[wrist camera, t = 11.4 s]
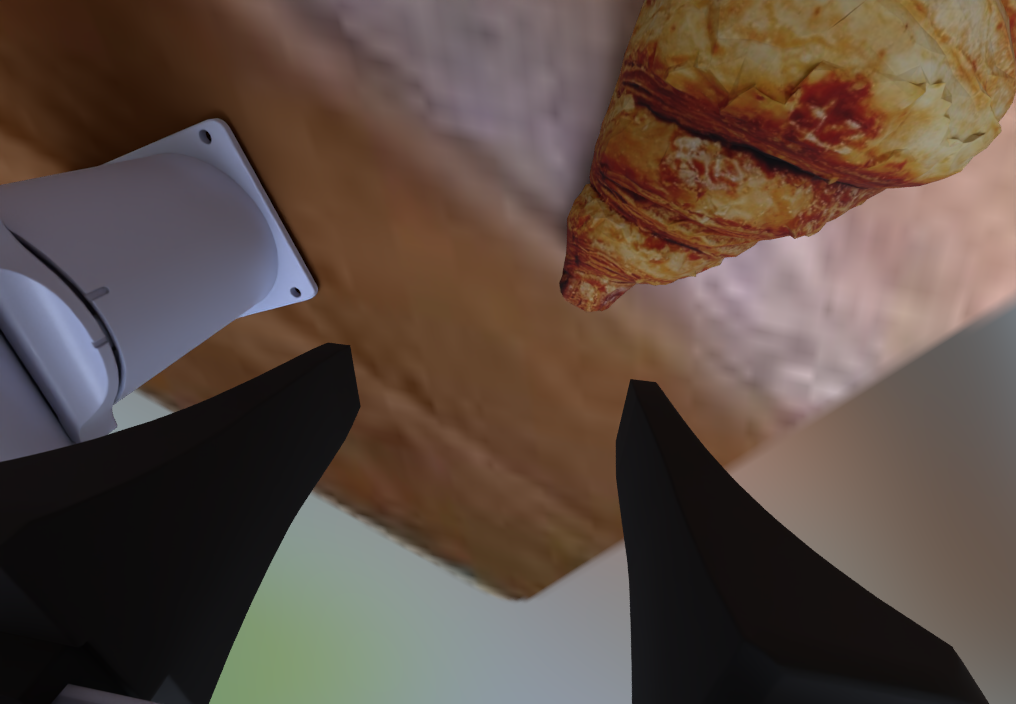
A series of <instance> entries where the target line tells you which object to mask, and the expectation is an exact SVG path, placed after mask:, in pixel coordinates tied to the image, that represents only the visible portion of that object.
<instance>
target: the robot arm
mask: <svg viewBox="0 0 1016 704" xmlns="http://www.w3.org/2000/svg"><path fill="white" fill-rule="evenodd" d="M206 131H208V133H209V134H210V135H211V138H212V139H211V141H210V140H209V139H208V138H207V136H206ZM295 287H296V288H297V289H299V290H300V292H301V294H299V293H298V292H297V291H296V290H295ZM317 293H318V287H317V285H316V283H315V281H314V279H313V277H312V276H311V274H310V272H309V270H308V268H307V267H306V265H305V263H304V261H303V259H302V257H301V256H300V254H299V252H298V250H297V248H296V247H295V245H294V243H293V241H292V239H291V238H290V236H289V234H288V232H287V230H286V228H285V227H284V225H283V223H282V221H281V219H280V218H279V216H278V214H277V212H276V210H275V208H274V207H273V205H272V203H271V201H270V199H269V198H268V196H267V194H266V192H265V190H264V189H263V187H262V185H261V183H260V181H259V179H258V178H257V176H256V174H255V172H254V170H253V169H252V167H251V165H250V163H249V161H248V160H247V158H246V156H245V154H244V152H243V150H242V149H241V147H240V145H239V143H238V141H237V140H236V138H235V136H234V134H233V132H232V130H231V129H230V127H229V126H228V124H227V123H226V122H224V121H223V120H222V119H219V118H214V119H207V120H205V121H203V122H200V123H198V124H196V125H193V126H191V127H189V128H186V129H184V130H182V131H179V132H177V133H175V134H172V135H170V136H168V137H165V138H163V139H161V140H158V141H156V142H154V143H151V144H149V145H147V146H144V147H142V148H140V149H137V150H135V151H133V152H130V153H128V154H126V155H123V156H121V157H119V158H116V159H114V160H112V161H109V162H107V163H105V164H102V165H100V166H96V167H91V168H86V169H80V170H75V171H70V172H65V173H60V174H55V175H50V176H44V177H39V178H34V179H29V180H24V181H19V182H14V183H9V184H3V185H0V704H209V702H210V699H211V697H212V694H213V692H214V689H215V687H216V685H217V682H218V680H219V677H220V674H221V672H222V670H223V667H224V665H225V662H226V660H227V657H228V655H229V652H230V650H231V648H232V645H233V643H234V641H235V639H236V636H237V634H238V632H239V630H240V627H241V625H242V623H243V621H244V619H245V616H246V614H247V612H248V610H249V607H250V605H251V603H252V601H253V598H254V596H255V594H256V592H257V590H258V588H259V586H260V584H261V582H262V580H263V578H264V576H265V573H266V571H267V569H268V567H269V565H270V563H271V561H272V559H273V557H274V555H275V553H276V551H277V550H278V548H279V546H280V544H281V542H282V540H283V538H284V536H285V534H286V532H287V530H288V528H289V526H290V525H291V523H292V521H293V519H294V518H295V516H296V515H297V513H298V511H299V510H300V508H301V506H302V505H303V503H304V502H305V500H306V499H307V497H308V496H309V494H310V493H311V491H312V490H313V488H314V487H315V485H316V484H317V482H318V481H319V479H320V478H321V476H322V475H323V473H324V472H325V470H326V469H327V467H328V466H329V464H330V463H331V461H332V459H333V458H334V456H335V455H336V453H337V452H338V450H339V449H340V447H341V445H342V444H343V442H344V441H345V439H346V437H347V435H348V433H349V431H350V429H351V427H352V425H353V422H354V420H355V418H356V416H357V413H358V411H359V409H360V401H359V395H358V389H357V383H356V377H355V372H354V366H353V360H352V354H351V348H350V345H343V344H335V343H326V344H324V345H321V346H319V347H316V348H314V349H312V350H310V351H308V352H306V353H304V354H302V355H300V356H298V357H296V358H294V359H292V360H290V361H288V362H286V363H284V364H282V365H280V366H278V367H276V368H274V369H272V370H270V371H268V372H266V373H264V374H262V375H260V376H258V377H256V378H253V379H251V380H249V381H247V382H245V383H243V384H240V385H238V386H236V387H234V388H232V389H230V390H227V391H225V392H223V393H221V394H219V395H216V396H214V397H212V398H210V399H207V400H205V401H203V402H200V403H198V404H195V405H193V406H190V407H188V408H185V409H183V410H180V411H177V412H175V413H172V414H169V415H167V416H164V417H161V418H158V419H156V420H153V421H150V422H147V423H144V424H141V425H137V426H134V427H131V428H128V429H125V430H121V431H118V432H115V433H112V434H109V433H110V432H111V431H113V430H114V429H115V428H117V423H116V421H115V419H114V417H113V412H112V406H113V405H114V404H116V403H117V402H118V401H120V400H121V399H123V398H124V397H125V396H127V395H128V394H130V393H131V392H133V391H134V390H135V389H137V388H138V387H140V386H141V385H143V384H144V383H145V382H147V381H148V380H150V379H151V378H152V377H154V376H155V375H157V374H158V373H160V372H161V371H162V370H164V369H165V368H167V367H168V366H169V365H171V364H172V363H174V362H175V361H177V360H178V359H179V358H181V357H182V356H184V355H185V354H187V353H188V352H189V351H191V350H192V349H194V348H195V347H196V346H198V345H199V344H201V343H202V342H204V341H205V340H206V339H208V338H209V337H211V336H212V335H213V334H215V333H216V332H218V331H219V330H221V329H222V328H223V327H225V326H226V325H228V324H229V323H230V322H232V321H233V320H235V319H236V318H239V317H243V316H246V315H250V314H254V313H258V312H262V311H266V310H270V309H274V308H277V307H281V306H285V305H289V304H293V303H297V302H301V301H304V300H308V299H311V298H313V297H314V296H315V295H316V294H317ZM107 434H109V435H107ZM616 480H617V488H618V496H619V504H620V511H621V519H622V526H623V533H624V541H625V548H626V555H627V562H628V574H629V588H630V589H629V590H630V617H631V659H632V704H989V703H988V701H987V700H986V698H985V696H984V695H983V693H982V692H981V690H980V688H979V687H978V685H977V684H976V682H975V681H974V679H973V678H972V676H971V675H970V673H969V671H968V670H967V668H966V666H965V665H964V663H963V662H962V660H961V659H960V657H959V656H958V655H957V653H956V652H955V650H954V649H953V647H952V646H950V645H949V644H947V643H946V642H944V641H943V640H941V639H940V638H938V637H936V636H935V635H934V634H932V633H930V632H929V631H927V630H926V629H924V628H923V627H921V626H920V625H918V624H916V623H915V622H914V621H912V620H911V619H909V618H907V617H906V616H905V615H903V614H902V613H900V612H898V611H897V610H895V609H894V608H892V607H891V606H889V605H888V604H886V603H885V602H883V601H882V600H880V599H879V598H877V597H875V596H874V595H873V594H872V593H870V592H869V591H867V590H866V589H865V588H863V587H862V586H860V585H859V584H858V583H856V582H855V581H853V580H852V579H851V578H849V577H848V576H847V575H845V574H844V573H843V572H841V571H839V570H838V569H837V568H836V567H834V566H833V565H832V564H830V563H829V562H828V561H827V560H825V559H824V558H823V557H821V556H820V555H819V554H817V553H816V552H815V551H813V550H812V549H811V548H810V547H809V546H807V545H806V544H805V543H804V542H803V541H801V540H800V539H799V538H798V537H796V536H795V535H794V534H793V533H792V532H790V531H789V530H788V529H787V528H786V527H784V526H783V525H782V524H781V523H780V522H778V521H777V520H776V519H775V518H774V517H773V516H772V515H771V514H769V513H768V512H767V511H766V510H765V509H764V508H763V507H762V506H761V505H760V504H759V503H758V502H757V501H756V500H754V499H753V498H752V497H751V496H750V495H749V494H748V493H747V492H746V491H745V490H744V489H743V488H742V487H741V486H740V485H739V484H738V483H737V482H736V481H735V480H734V479H733V478H732V477H731V476H730V475H729V474H728V473H727V471H726V470H725V469H724V468H723V467H722V466H721V465H720V464H719V463H718V461H717V460H716V459H715V458H714V457H713V456H712V455H711V454H710V453H709V451H708V450H707V449H706V448H705V447H704V445H703V444H702V443H701V442H700V440H699V439H698V438H697V437H696V435H695V434H694V433H693V432H692V430H691V429H690V428H689V427H688V425H687V424H686V423H685V421H684V420H683V419H682V417H681V416H680V414H679V413H678V412H677V410H676V409H675V408H674V406H673V405H672V404H671V402H670V401H669V399H668V398H667V397H666V395H665V394H664V392H663V391H662V390H661V388H660V387H659V386H658V384H657V383H656V382H649V381H641V380H633V379H630V383H629V388H628V392H627V396H626V400H625V405H624V409H623V413H622V417H621V422H620V426H619V430H618V434H617V439H616Z"/></svg>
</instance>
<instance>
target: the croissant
mask: <svg viewBox="0 0 1016 704" xmlns="http://www.w3.org/2000/svg"><path fill="white" fill-rule="evenodd" d="M1015 93H1016V0H645V1H644V3H643V5H642V8H641V11H640V14H639V17H638V19H637V22H636V25H635V28H634V31H633V33H632V36H631V39H630V41H629V44H628V47H627V49H626V52H625V55H624V59H623V63H622V68H621V72H620V75H619V78H618V81H617V84H616V87H615V90H614V93H613V96H612V98H611V101H610V104H609V107H608V110H607V113H606V115H605V117H604V120H603V122H602V125H601V130H600V134H599V137H598V139H597V142H596V145H595V151H594V157H593V162H592V166H591V171H590V176H589V178H590V184H586V185H585V187H584V189H583V191H582V192H581V194H580V195H579V196H578V197H577V198H576V199H575V201H574V204H573V206H572V208H571V211H570V213H569V216H568V218H567V249H566V257H565V262H564V268H563V275H562V278H561V280H560V283H559V284H560V291H561V293H562V295H563V297H564V300H566V301H567V302H569V303H571V304H573V305H575V306H577V307H579V308H581V309H582V310H584V311H586V312H593V311H598V310H600V311H603V310H605V309H608V308H609V307H610V306H611V305H612V304H613V303H614V302H615V301H616V300H617V299H618V298H619V297H620V296H622V295H623V294H624V293H625V292H626V291H627V290H629V289H630V288H631V287H632V286H634V285H635V284H636V283H637V284H651V285H655V286H656V285H666V284H669V283H672V282H674V281H676V280H677V279H682V278H686V277H689V276H694V277H696V274H697V273H700V272H703V271H705V270H707V269H709V268H712V267H715V266H718V265H720V264H721V262H722V260H723V259H724V258H725V257H736V256H738V255H739V254H741V253H742V252H744V251H746V250H747V249H749V248H751V247H752V246H754V245H755V244H756V243H757V242H758V241H761V240H771V239H776V238H780V237H785V236H792V237H793V238H794V239H796V238H798V237H801V236H804V235H805V236H808V237H809V236H811V235H813V234H815V233H817V232H819V231H820V230H821V228H822V227H823V226H824V225H825V224H826V222H829V221H831V220H834V219H836V218H837V217H839V216H840V215H842V214H844V213H845V212H847V211H848V210H850V209H851V208H853V207H856V206H859V205H861V204H863V203H864V202H865V201H866V200H867V199H869V198H870V197H872V196H874V195H876V194H878V193H880V192H881V191H883V190H885V189H886V188H901V187H913V186H921V185H924V184H928V183H931V182H935V181H938V180H941V179H944V178H947V177H949V176H951V175H954V174H956V173H958V172H961V171H962V170H963V168H964V167H965V166H966V165H967V164H968V163H969V161H970V160H971V159H972V158H973V157H974V156H975V155H977V154H978V153H980V152H981V151H983V150H984V149H986V148H987V147H988V146H989V145H990V143H991V142H992V141H993V140H994V139H995V138H996V137H997V136H998V134H999V133H1000V132H1001V126H1000V124H999V123H998V122H999V121H1000V120H1001V118H1002V117H1003V116H1004V115H1005V113H1006V112H1007V110H1008V109H1009V107H1010V105H1011V104H1012V102H1013V99H1014V96H1015Z"/></svg>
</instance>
